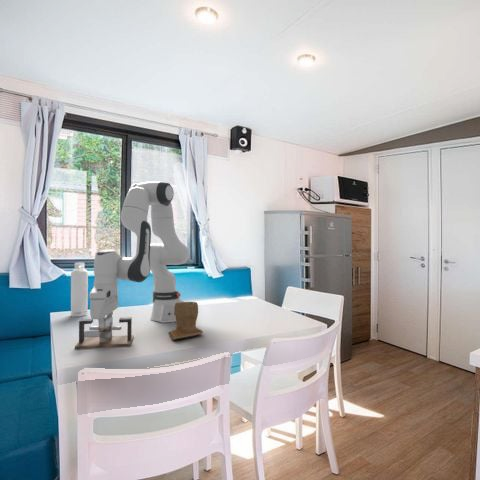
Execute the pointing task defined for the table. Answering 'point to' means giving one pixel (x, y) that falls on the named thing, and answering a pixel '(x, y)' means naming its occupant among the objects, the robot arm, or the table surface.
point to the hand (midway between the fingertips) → (105, 324)
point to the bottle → (79, 290)
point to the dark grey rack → (104, 336)
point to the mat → (91, 333)
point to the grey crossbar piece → (106, 325)
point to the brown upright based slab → (185, 320)
